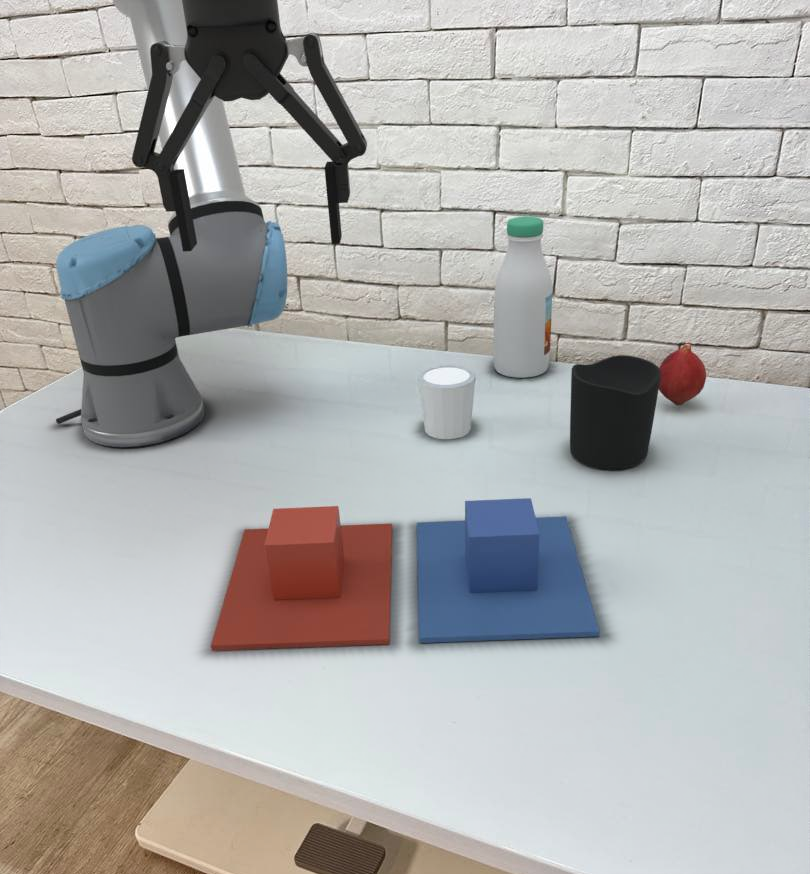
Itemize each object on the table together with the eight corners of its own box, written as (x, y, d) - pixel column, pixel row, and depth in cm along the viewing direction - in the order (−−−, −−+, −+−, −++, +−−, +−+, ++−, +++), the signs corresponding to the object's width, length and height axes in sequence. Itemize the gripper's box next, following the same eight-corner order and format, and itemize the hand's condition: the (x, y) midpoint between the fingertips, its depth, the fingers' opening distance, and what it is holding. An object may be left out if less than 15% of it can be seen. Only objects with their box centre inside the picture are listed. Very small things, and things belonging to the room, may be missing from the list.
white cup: (471, 443, 101) (471, 388, 97) (414, 440, 102) (412, 386, 99) (479, 418, 107) (479, 365, 103) (425, 415, 108) (423, 363, 104)
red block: (273, 600, 76) (264, 544, 73) (281, 562, 81) (273, 508, 78) (340, 597, 76) (333, 542, 73) (344, 559, 81) (338, 505, 78)
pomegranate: (650, 411, 106) (657, 349, 101) (657, 393, 110) (664, 333, 106) (698, 417, 104) (708, 354, 99) (703, 398, 108) (713, 337, 104)
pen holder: (646, 477, 92) (657, 391, 87) (559, 467, 95) (564, 384, 90) (654, 439, 100) (664, 357, 94) (573, 431, 102) (578, 351, 97)
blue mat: (419, 643, 71) (418, 637, 71) (417, 527, 86) (416, 522, 86) (599, 636, 71) (599, 631, 71) (565, 521, 86) (565, 516, 86)
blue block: (469, 593, 76) (468, 536, 72) (465, 554, 81) (464, 500, 77) (537, 590, 76) (539, 534, 72) (529, 552, 81) (531, 497, 77)
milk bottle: (534, 383, 115) (540, 229, 104) (483, 373, 118) (484, 224, 107) (558, 363, 120) (565, 215, 109) (508, 354, 124) (511, 210, 113)
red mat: (211, 650, 72) (210, 645, 72) (245, 534, 87) (244, 529, 87) (389, 644, 71) (388, 638, 71) (392, 528, 86) (392, 523, 86)
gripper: (51, -24, 64) (118, 261, 76) (382, -43, 63) (397, 248, 75) (83, -25, 70) (140, 239, 82) (385, -42, 70) (398, 227, 81)
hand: (263, 244), depth 79 cm, fingers open, 13 cm apart
